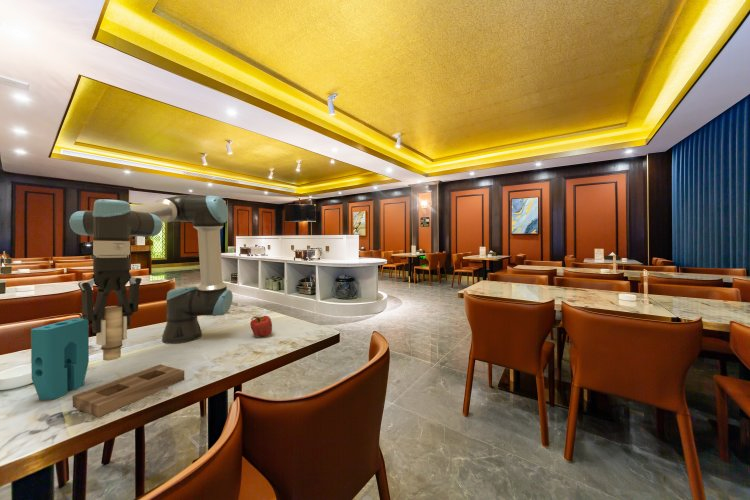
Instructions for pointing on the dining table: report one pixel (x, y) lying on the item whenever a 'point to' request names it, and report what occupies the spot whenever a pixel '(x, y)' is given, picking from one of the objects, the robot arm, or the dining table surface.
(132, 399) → the board
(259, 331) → the red apple
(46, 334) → the block
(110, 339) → the peg
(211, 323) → the dining table surface
